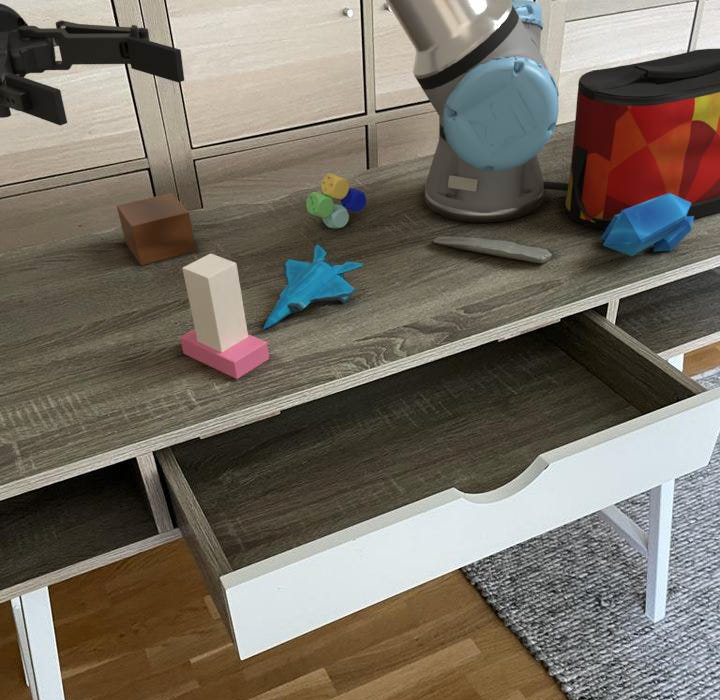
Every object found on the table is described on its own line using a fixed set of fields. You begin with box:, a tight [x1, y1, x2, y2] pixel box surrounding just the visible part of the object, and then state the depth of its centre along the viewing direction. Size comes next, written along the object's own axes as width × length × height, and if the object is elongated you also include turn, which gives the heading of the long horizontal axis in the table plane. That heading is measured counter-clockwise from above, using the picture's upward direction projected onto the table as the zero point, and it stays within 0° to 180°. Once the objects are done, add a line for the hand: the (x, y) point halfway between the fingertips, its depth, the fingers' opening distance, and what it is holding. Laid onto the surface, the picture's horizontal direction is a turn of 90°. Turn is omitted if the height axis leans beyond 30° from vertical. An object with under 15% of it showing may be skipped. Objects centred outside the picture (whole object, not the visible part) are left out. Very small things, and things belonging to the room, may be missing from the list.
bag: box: [564, 48, 720, 230], centre depth 104 cm, size 30×14×16 cm, turn 114°
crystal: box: [600, 193, 694, 257], centre depth 97 cm, size 7×9×12 cm
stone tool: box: [432, 235, 553, 264], centre depth 101 cm, size 14×1×5 cm
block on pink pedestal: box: [179, 253, 270, 380], centre depth 84 cm, size 8×4×10 cm, turn 49°
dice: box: [305, 173, 367, 229], centre depth 107 cm, size 8×3×6 cm, turn 127°
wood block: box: [116, 192, 197, 266], centre depth 105 cm, size 7×7×5 cm
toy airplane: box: [262, 243, 366, 330], centre depth 93 cm, size 12×10×4 cm
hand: (123, 86), depth 76 cm, fingers open, 13 cm apart
